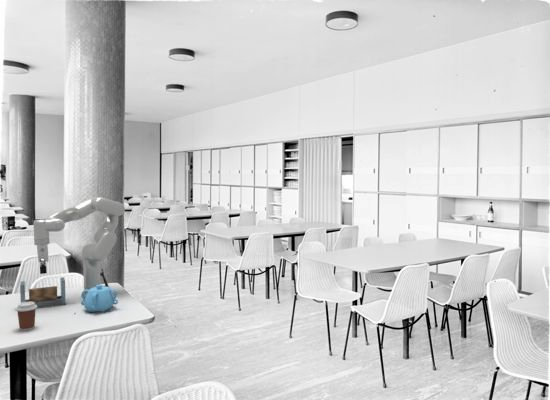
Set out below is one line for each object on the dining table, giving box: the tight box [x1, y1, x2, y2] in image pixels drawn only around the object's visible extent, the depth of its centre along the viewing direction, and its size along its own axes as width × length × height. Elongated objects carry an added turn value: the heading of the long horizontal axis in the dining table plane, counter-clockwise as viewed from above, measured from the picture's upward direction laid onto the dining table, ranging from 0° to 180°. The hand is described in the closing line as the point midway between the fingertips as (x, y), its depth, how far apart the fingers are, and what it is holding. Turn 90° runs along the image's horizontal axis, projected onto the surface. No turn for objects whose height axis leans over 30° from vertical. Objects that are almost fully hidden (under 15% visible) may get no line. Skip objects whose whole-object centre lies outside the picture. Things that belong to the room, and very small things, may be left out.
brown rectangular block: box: [28, 285, 58, 302], centre depth 251 cm, size 14×3×9 cm, turn 118°
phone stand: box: [100, 268, 110, 288], centre depth 290 cm, size 9×6×12 cm, turn 113°
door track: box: [19, 277, 67, 310], centre depth 251 cm, size 22×9×14 cm, turn 118°
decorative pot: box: [80, 284, 119, 313], centre depth 244 cm, size 16×16×14 cm
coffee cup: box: [15, 302, 38, 331], centre depth 214 cm, size 9×9×12 cm
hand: (43, 271), depth 250 cm, fingers open, 9 cm apart
